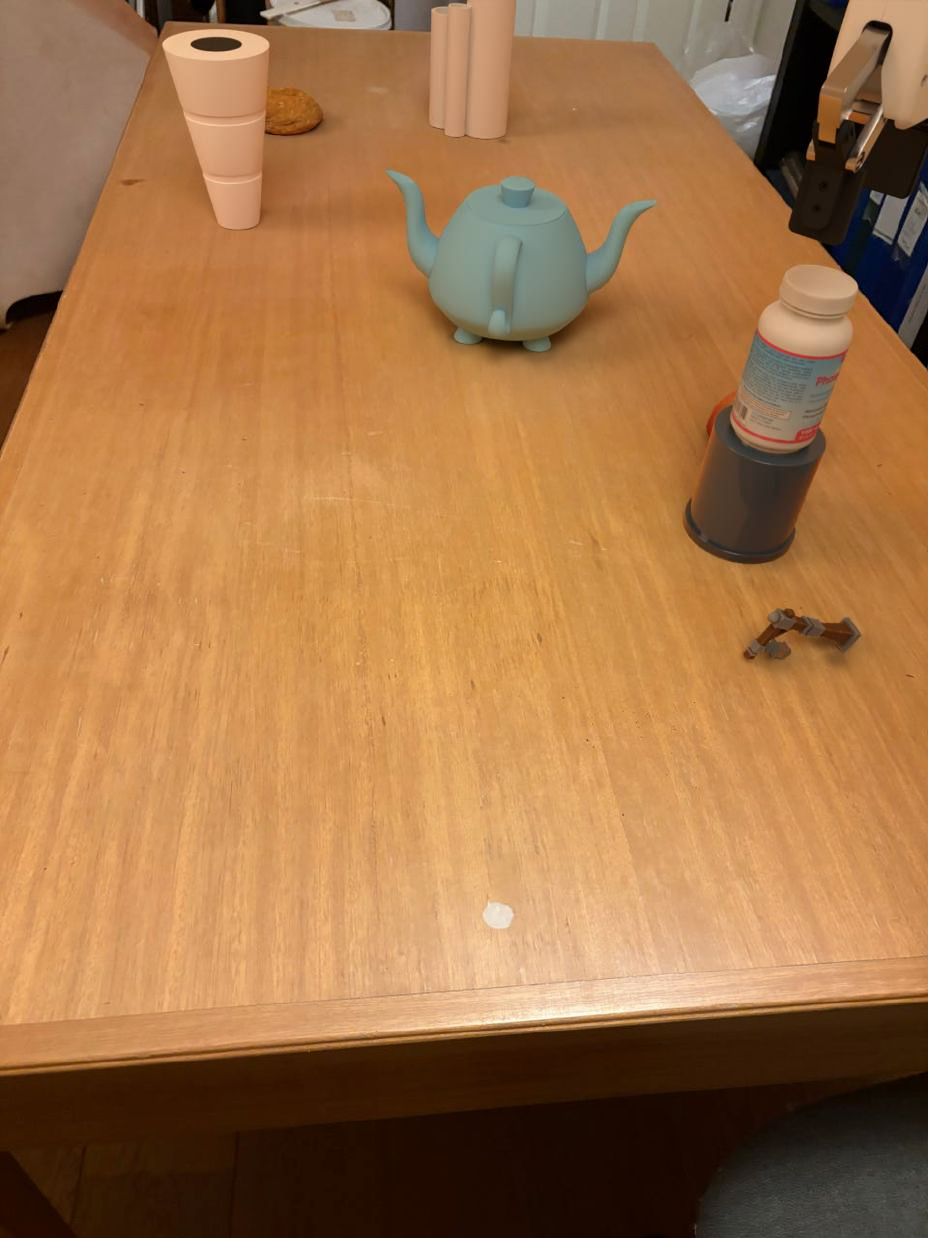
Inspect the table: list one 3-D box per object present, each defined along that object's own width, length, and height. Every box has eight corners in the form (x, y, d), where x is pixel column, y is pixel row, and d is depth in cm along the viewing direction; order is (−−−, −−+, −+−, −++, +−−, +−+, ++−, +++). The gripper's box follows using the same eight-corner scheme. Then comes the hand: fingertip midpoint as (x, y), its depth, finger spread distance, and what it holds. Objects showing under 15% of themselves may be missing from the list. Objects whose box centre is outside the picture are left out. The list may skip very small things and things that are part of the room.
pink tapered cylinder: (269, 245, 104) (250, 64, 91) (177, 234, 104) (145, 53, 91) (296, 207, 111) (282, 34, 98) (210, 197, 112) (185, 24, 99)
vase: (508, 124, 134) (522, -43, 120) (502, 142, 129) (516, -30, 115) (431, 116, 135) (435, -51, 121) (422, 133, 130) (425, -39, 116)
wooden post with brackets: (729, 645, 63) (770, 597, 61) (808, 658, 67) (850, 614, 65) (742, 664, 62) (784, 617, 60) (821, 676, 66) (864, 632, 63)
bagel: (336, 130, 129) (334, 93, 126) (261, 141, 125) (257, 102, 122) (307, 108, 135) (305, 71, 131) (235, 117, 131) (230, 80, 127)
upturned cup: (811, 526, 74) (852, 428, 67) (760, 580, 69) (798, 481, 63) (717, 479, 78) (746, 382, 71) (662, 528, 73) (688, 429, 66)
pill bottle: (810, 462, 64) (870, 311, 56) (722, 442, 65) (768, 291, 57) (816, 416, 68) (873, 269, 60) (734, 398, 69) (777, 251, 61)
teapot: (385, 308, 95) (383, 165, 85) (539, 269, 103) (554, 134, 93) (471, 385, 86) (481, 235, 76) (633, 336, 94) (661, 194, 84)
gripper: (995, -138, 37) (848, 280, 49) (1111, -161, 46) (964, 193, 58) (819, -161, 40) (722, 236, 52) (962, -178, 49) (852, 161, 62)
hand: (850, 213), depth 55 cm, fingers open, 9 cm apart
